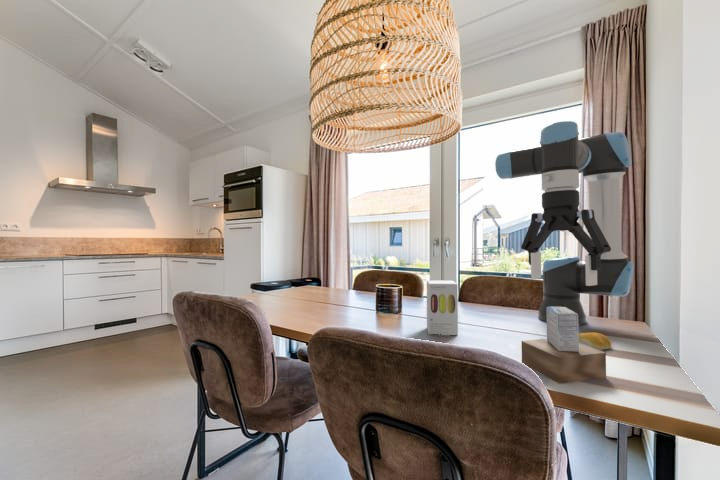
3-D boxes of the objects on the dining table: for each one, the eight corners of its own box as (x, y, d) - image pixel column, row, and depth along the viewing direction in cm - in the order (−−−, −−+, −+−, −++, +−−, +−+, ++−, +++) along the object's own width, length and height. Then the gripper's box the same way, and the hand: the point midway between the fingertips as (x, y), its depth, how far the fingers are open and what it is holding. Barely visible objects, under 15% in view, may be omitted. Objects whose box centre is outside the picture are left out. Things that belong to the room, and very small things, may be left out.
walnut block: (562, 360, 86) (562, 337, 86) (606, 379, 75) (605, 352, 75) (521, 365, 84) (521, 341, 84) (560, 385, 72) (559, 357, 72)
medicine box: (579, 352, 75) (579, 313, 75) (557, 351, 76) (557, 313, 76) (566, 341, 82) (565, 306, 82) (546, 340, 83) (545, 305, 83)
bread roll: (616, 348, 94) (616, 333, 94) (596, 353, 90) (596, 338, 90) (586, 340, 102) (586, 326, 102) (566, 344, 98) (566, 330, 98)
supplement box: (428, 335, 109) (427, 283, 109) (426, 327, 118) (425, 279, 118) (458, 336, 108) (458, 283, 107) (454, 328, 117) (453, 279, 117)
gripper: (505, 196, 89) (507, 277, 89) (607, 182, 66) (609, 290, 66) (526, 196, 92) (527, 274, 92) (630, 183, 69) (631, 287, 69)
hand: (561, 281), depth 79 cm, fingers open, 13 cm apart
